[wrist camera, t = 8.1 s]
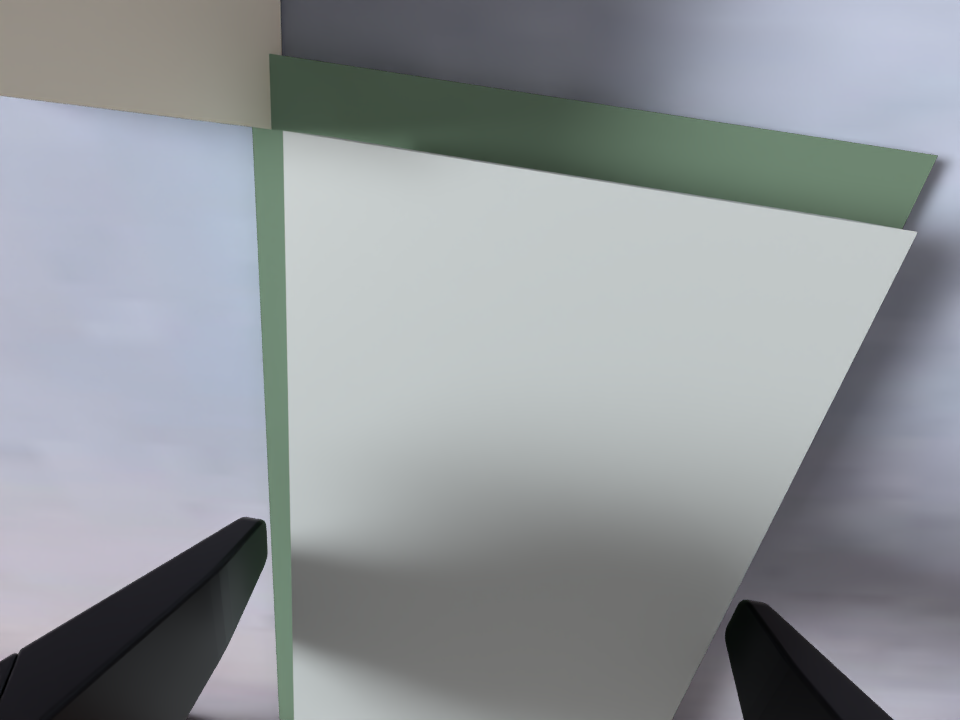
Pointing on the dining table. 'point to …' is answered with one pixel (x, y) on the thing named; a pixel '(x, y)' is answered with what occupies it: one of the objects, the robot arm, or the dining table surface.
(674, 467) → the lid
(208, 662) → the robot arm
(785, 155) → the felt mat
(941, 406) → the dining table surface
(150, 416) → the dining table surface
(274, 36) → the pencil box
